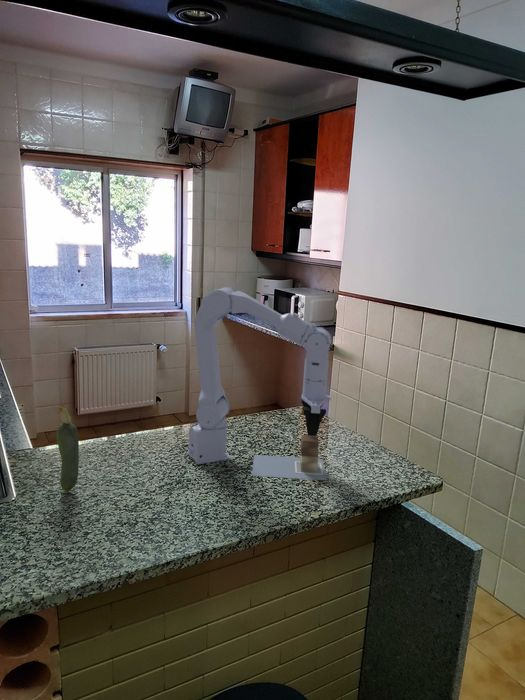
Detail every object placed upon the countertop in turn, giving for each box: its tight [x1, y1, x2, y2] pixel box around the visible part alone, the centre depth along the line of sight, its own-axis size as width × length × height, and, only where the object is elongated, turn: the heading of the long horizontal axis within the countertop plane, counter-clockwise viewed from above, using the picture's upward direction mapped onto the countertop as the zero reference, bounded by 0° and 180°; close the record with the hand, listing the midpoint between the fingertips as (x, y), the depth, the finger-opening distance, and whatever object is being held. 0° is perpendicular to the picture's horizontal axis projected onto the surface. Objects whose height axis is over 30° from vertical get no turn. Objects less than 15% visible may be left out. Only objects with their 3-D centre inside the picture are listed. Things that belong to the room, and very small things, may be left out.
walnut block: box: [300, 434, 320, 458], centre depth 126 cm, size 4×4×4 cm
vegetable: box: [56, 406, 80, 494], centre depth 108 cm, size 4×4×20 cm
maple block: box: [300, 455, 319, 472], centre depth 126 cm, size 4×4×4 cm
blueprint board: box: [251, 454, 327, 481], centre depth 127 cm, size 18×12×1 cm, turn 88°
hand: (311, 431), depth 125 cm, fingers open, 4 cm apart
